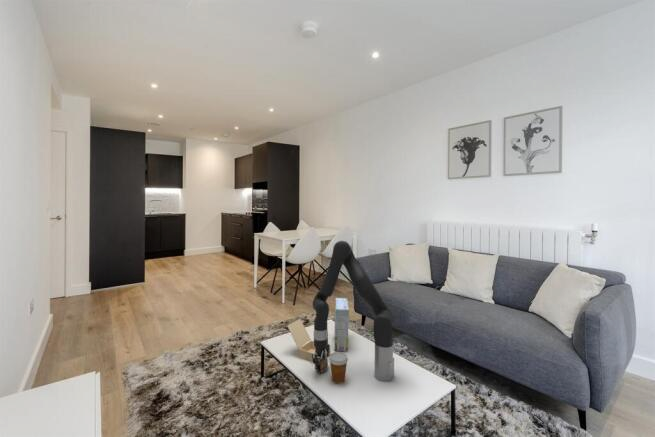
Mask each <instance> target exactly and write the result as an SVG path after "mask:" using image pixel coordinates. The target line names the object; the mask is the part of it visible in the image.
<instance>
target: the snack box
mask: <svg viewBox="0 0 655 437" xmlns="http://www.w3.org/2000/svg"><path fill="white" fill-rule="evenodd" d="M334 303H335V308H334V310H335V311H334V351H335V352H348V350H349V320H350V319H349V317H350V315H349V314H350V311H349V310H350V308H349V302H348V298H345V297H342V298H341V297H335V302H334Z"/></svg>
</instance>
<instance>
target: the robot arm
mask: <svg viewBox="0 0 655 437" xmlns="http://www.w3.org/2000/svg"><path fill="white" fill-rule="evenodd" d="M332 248H333V249H332V254H331V259H330V262H329V266H328V268H327V271H326V273H325V275H324V278H323V280H322V283H321V286H320V288H319V290H318V292H317V293H316V295H315V296H314V298H313V300H312V308H313V310H314V311H315V313H316V314H315V317H314V320H313V322H314V323H313V341H314V346H315V348H316V350H315V353H314V354H312V359H313V362H312V364H314V365H315V364H316V370H315V371H318V372H320V362H321V359H322V357H324V358H327V359H328V357H327V356H328V355H329V347H331V346H330V344H329V331H328V320H329V313H330V306H329V304H328V302H327V300H328V298H330V297H332V295H333V293H334V291H335V288H336V285H337V282H338V279H339V275H340V273H341V269H342V268H343V266H344V268H345V270H346V272H347V274H348V277H349V279H350V282H351V284H352V285H353V287H354V289H355V291H356V292H357V294H358V295H359V297H361V299H362V300H364V301H365V302H366V303H367V304H368V305H369V306H370V308H371V309H372V310H373V313H374V315H375V317H374V319H373V339H374V370H373V371H374V372H373V373H374V374H373V375H374V377H375V378H376V379H377V380H379V381H382V382H383V381H384V382H391V381H392V379H393V378H394V376H395V357H394V339H393V326H394V325H395V316H394V314H393V312H392V311H391V310H390V308H389V307H388V306H387V304H386V303H385V302H384V300H383V299H382V297H381V295H380V294H379V292H378V290H377V288H376V287H375V285H374V283H373V281H372V280H371V278H370V277H369V275H368V274H367V272H366V270H364V268H363V266H362V265H361V264H360V263H359V262H358V260H357V259H356V257H355V254H354V252H353V249H352V247H351V245H350V244H349V242H347V241H345V240H339V241H337V242H336V243H334V244H333V247H332ZM326 351H327V353H326ZM318 356H319V357H320V358H319V357H318ZM318 359H319V362H318Z"/></svg>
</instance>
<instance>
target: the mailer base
mask: <svg viewBox="0 0 655 437" xmlns="http://www.w3.org/2000/svg"><path fill="white" fill-rule="evenodd" d="M331 348H332V346H330V347H329V355H328V356H327V358H329V357H330V355H331V354H332V353H331ZM315 350H316V348H315V346H314V340H310V341H308V342H307V343H305V344H304V345H302V346H301V347H299V348H298V358H300V359H302V360H305V361H308V362H311V363H313V359H312V354H314V353H315ZM326 353H327V351H326ZM318 357H319V356H318Z"/></svg>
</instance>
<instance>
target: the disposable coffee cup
mask: <svg viewBox="0 0 655 437" xmlns="http://www.w3.org/2000/svg"><path fill="white" fill-rule="evenodd" d="M348 361H349V358H348V355H347V354H346V353H344V352H342V351H335V352H332V353H331V355H330V356H329V357H328V362H329V364H330V365H329V366H330V372H331V380H332V382H333V383H336V384H342V383H344V382H345V380H346V372H347V366H348Z"/></svg>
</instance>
